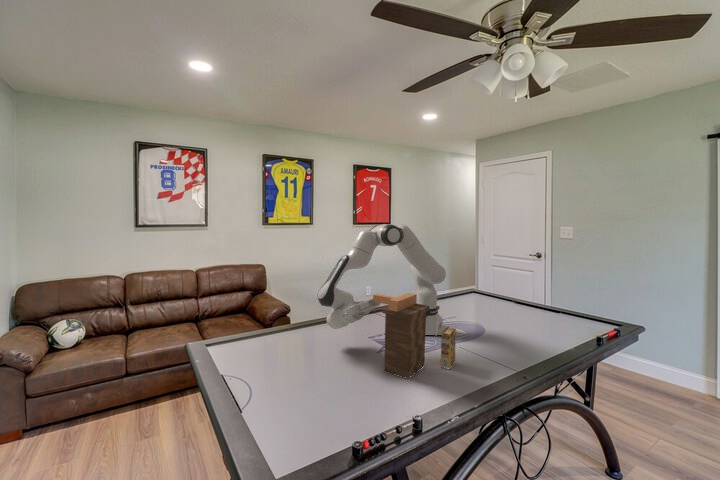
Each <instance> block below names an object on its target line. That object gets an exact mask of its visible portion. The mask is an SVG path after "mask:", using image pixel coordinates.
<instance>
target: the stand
mask: <svg viewBox="0 0 720 480" xmlns="http://www.w3.org/2000/svg"><path fill="white" fill-rule="evenodd" d="M427 311H429V306H427V305H422V304H414V305H412V306H409V307H407V308H405V309H402V310H400V311H398V312H397V311H392V310H389V305H388V306H387V305H386V306H385V307H383V308H381V313H382V314H385V316H384V317H385V318H384V319H385V322H384V358H383V359H384V360H383V362H384V364H383V367H384V368H383V371H384V372H386V373H388V372H389V374H391V373H392V375H394V374H396V375H395V376H397V375H399V376H398V377H400V376H402V377H401V378H403V377H406V378H409V377H410V376H412V375H413V374H414V373H416V372H417V371H418V370H419V369H421V368H422V367H423V366H424V367H425V357H426V356H425V353H426V336H425V329H426V312H427ZM424 367H423V368H424ZM423 368H422V369H423ZM422 369H421V370H422ZM419 371H420V370H419ZM419 371H418V372H419ZM418 372H417V373H418ZM417 373H416V374H417ZM414 375H415V374H414ZM414 375H413V376H414ZM413 376H412V377H413ZM406 378H405V379H406ZM410 378H411V377H410ZM410 378H409V379H410Z"/></svg>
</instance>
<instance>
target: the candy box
mask: <svg viewBox="0 0 720 480" xmlns="http://www.w3.org/2000/svg"><path fill="white" fill-rule="evenodd" d="M456 328H457V327H451V326H447V327H446V328H445V329H444V331H443V332H441V339H440V368H441V367H445V368H450V367H451V366H452V365H453V366H454V364H455V363H456V339H457V338H456V336H457V335H456V334H457V333H456V332H457V329H456ZM454 362H455V363H454ZM453 363H454V364H453ZM453 366H452V367H453ZM452 367H451V368H452ZM445 368H444V369H445ZM451 368H450V369H451Z"/></svg>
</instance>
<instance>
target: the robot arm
mask: <svg viewBox="0 0 720 480" xmlns="http://www.w3.org/2000/svg"><path fill="white" fill-rule="evenodd" d="M395 245H396V246H397V248H398V249H399V251H400V252H401V253H402V255H403V256H404V258H405V259H406V261H407V262H408V263H409V264H411V265H410V267H409V268H410V273H411V275H412V277H413V280H414V286H415V291H416V293H415V294H417V304H422V305H427V306H429V311H427V312H426V329H425V335H435V336H437V335H441V332H443V331H444V329H445V328H446V327H448V326H447V325H445V324H444V323H443V322H444V320H443V317H442V316H441V315H440V314H439V310H440V305H438V292H437V290H436V288H435V285H434V284H441V283H442V282H444V281H445V279H446V278H447V277H446V276H447V273H446V272H447V271H446V269H445V267H444V266H442V265H441V264H440V263H439V262H438V261H437V260H436V259H435V258H434V257H433V256H432V255H431V254H430V253H429V252H428V250H426V249H425V247H424V246H423V244H422V243H421V241H420V239H418V237H417V235H416V234H415V232H414V231H412V229H410V227H408V225H406V224H400V225H398V226H397V225H393V224H386V223H383V224H377V225H374V226H373V227H371V228H370V229H363V230H360V231H359V234H358V235H357V236H356V238H355V239H354V241H353V244H352V246H351V248H350V250H349V251H348V252H347V253H346V254H345V255H342V256H341V257H340V259H338V261H337V263H336V264H335V266H334V268H333V269H332V271H331V272H330V274H329V276H328V277H327V279H326V281H325V282H324V283H323V284H322V286H321V287H320V288H319V289H318V293H317V300H318V303H319V304H320V306H322V307H327V308H331V311H330V313H329V314H328V315H327V317H326V323H327V325H328V326H329V327H330V328H331V329H333V330H338V329H342V328H344V327H347V326H349V325H350V324H353V323H356V322H358V321H360V320H362V318H364V317H365V316H367V315H368V314H370V312H371V311H373V310H374V309H377V308H378V307H379V306H380V305H382V303H378V302H373V298H370V299H368V300H361V301H354V296H353V294H352V293H350V292H348V291H346V290H343V289H340V288H338V287H337V286H338V284H339V283H340V280H341V279H342V277H343V276H344V274H345V273H346V272H347V271H349V270H360V269H364V268H365V267H367V266H368V265H369V263H370V262H371V260H372V256H373V255H374V251H375V249H376V248H377V247H378V246H381V247H392V246H393V247H394V246H395Z"/></svg>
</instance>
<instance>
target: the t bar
mask: <svg viewBox="0 0 720 480" xmlns="http://www.w3.org/2000/svg"><path fill="white" fill-rule="evenodd" d="M372 296H373V297H372V299H373V302H378V303H381V304H384V305H386V306H387V305H388V306H389V310H392V311H397V312H398V311H400V310H402V309H405V308H407V307H409V306H412V305H414V304H417V294H416V293H410V292H407V293H404V294H402V295H398V296H394V295H393V296H392V295H387V294H381V293H375V294H372Z"/></svg>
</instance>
